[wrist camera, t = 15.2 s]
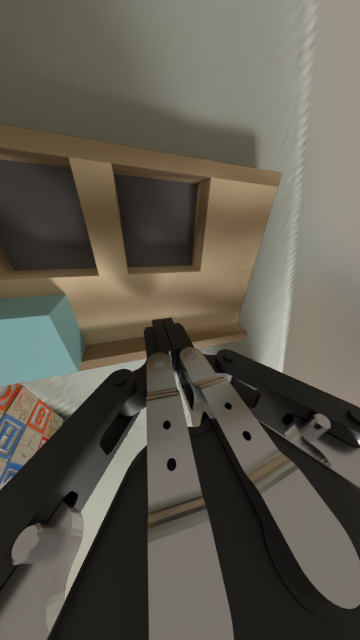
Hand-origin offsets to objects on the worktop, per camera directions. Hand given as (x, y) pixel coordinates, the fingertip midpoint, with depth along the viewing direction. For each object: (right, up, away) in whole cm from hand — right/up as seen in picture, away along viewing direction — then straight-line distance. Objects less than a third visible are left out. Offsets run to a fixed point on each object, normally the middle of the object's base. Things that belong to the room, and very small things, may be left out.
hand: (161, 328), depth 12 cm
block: (-9, 0, 0) cm, 9 cm away
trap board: (-3, +6, +2) cm, 6 cm away
